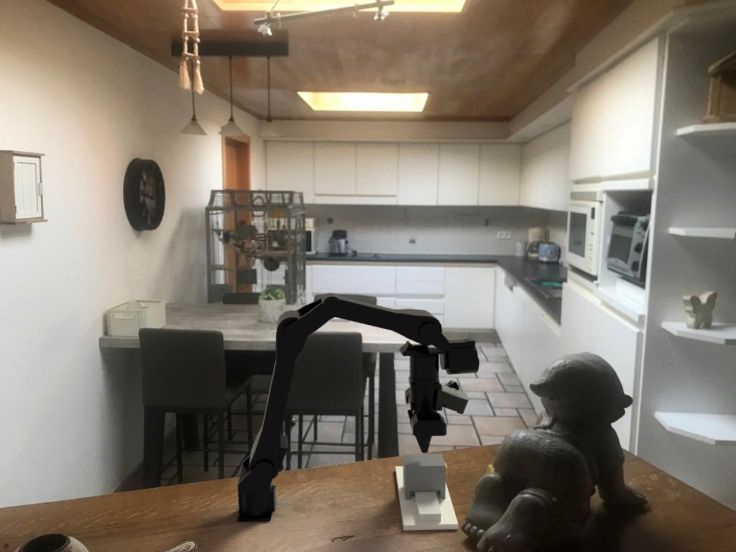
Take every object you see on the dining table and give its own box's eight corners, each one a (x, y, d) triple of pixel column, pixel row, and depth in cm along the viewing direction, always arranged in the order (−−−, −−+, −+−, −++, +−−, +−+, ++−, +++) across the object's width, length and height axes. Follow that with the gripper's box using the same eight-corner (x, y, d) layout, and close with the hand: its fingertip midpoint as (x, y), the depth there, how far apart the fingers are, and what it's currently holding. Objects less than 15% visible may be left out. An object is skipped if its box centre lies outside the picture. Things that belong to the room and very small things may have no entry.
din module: (405, 499, 111) (404, 466, 110) (403, 486, 116) (402, 454, 115) (448, 498, 111) (448, 465, 110) (444, 485, 116) (444, 453, 115)
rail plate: (403, 530, 103) (403, 517, 102) (395, 470, 125) (395, 460, 124) (458, 529, 103) (458, 516, 103) (440, 469, 125) (440, 459, 124)
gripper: (475, 391, 101) (473, 473, 103) (457, 360, 119) (456, 430, 122) (413, 393, 101) (413, 474, 103) (404, 361, 119) (404, 431, 121)
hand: (424, 450), depth 112 cm, fingers closed
